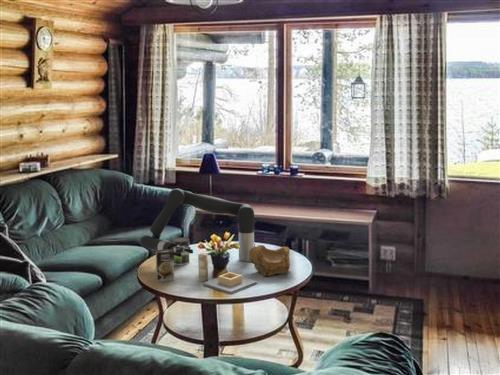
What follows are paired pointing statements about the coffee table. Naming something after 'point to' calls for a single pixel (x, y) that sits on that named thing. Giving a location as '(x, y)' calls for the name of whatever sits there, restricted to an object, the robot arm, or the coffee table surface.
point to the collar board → (230, 283)
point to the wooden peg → (203, 266)
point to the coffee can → (184, 256)
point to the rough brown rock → (270, 260)
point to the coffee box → (164, 265)
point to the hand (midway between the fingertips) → (186, 253)
